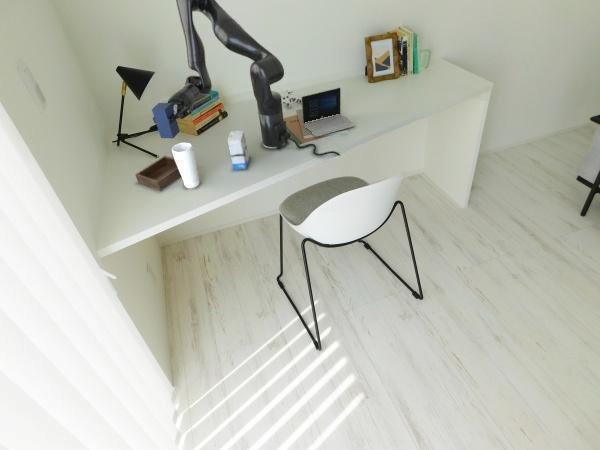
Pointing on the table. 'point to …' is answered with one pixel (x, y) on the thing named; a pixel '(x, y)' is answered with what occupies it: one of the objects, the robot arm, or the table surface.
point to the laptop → (323, 112)
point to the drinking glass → (186, 164)
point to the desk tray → (159, 173)
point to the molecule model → (290, 99)
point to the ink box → (238, 149)
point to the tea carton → (165, 120)
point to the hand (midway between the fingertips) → (162, 121)
